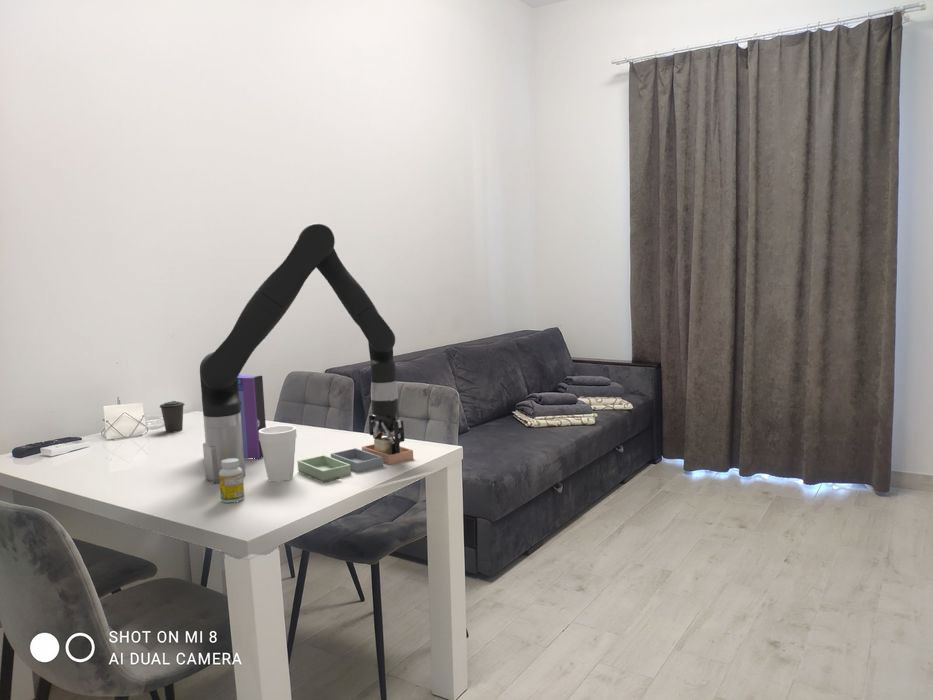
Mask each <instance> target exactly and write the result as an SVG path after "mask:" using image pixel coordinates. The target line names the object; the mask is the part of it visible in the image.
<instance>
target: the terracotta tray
mask: <svg viewBox="0 0 933 700" xmlns="http://www.w3.org/2000/svg"><path fill="white" fill-rule="evenodd" d="M361 450H363V451H366V452H369V453H372V454H375V455H378V456H381V457H383V464H387V465H393V464H397V463H400V462H401V463H402V462H405V461H409V460H414V451H413V450H414V449H410V448H407V447H404V446H401V445H400V453H396V454H392V455H388V454H385V453H382V452H379V451H375V446H374V444H373V443H372V444H368V445H364V446H361Z"/></svg>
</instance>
